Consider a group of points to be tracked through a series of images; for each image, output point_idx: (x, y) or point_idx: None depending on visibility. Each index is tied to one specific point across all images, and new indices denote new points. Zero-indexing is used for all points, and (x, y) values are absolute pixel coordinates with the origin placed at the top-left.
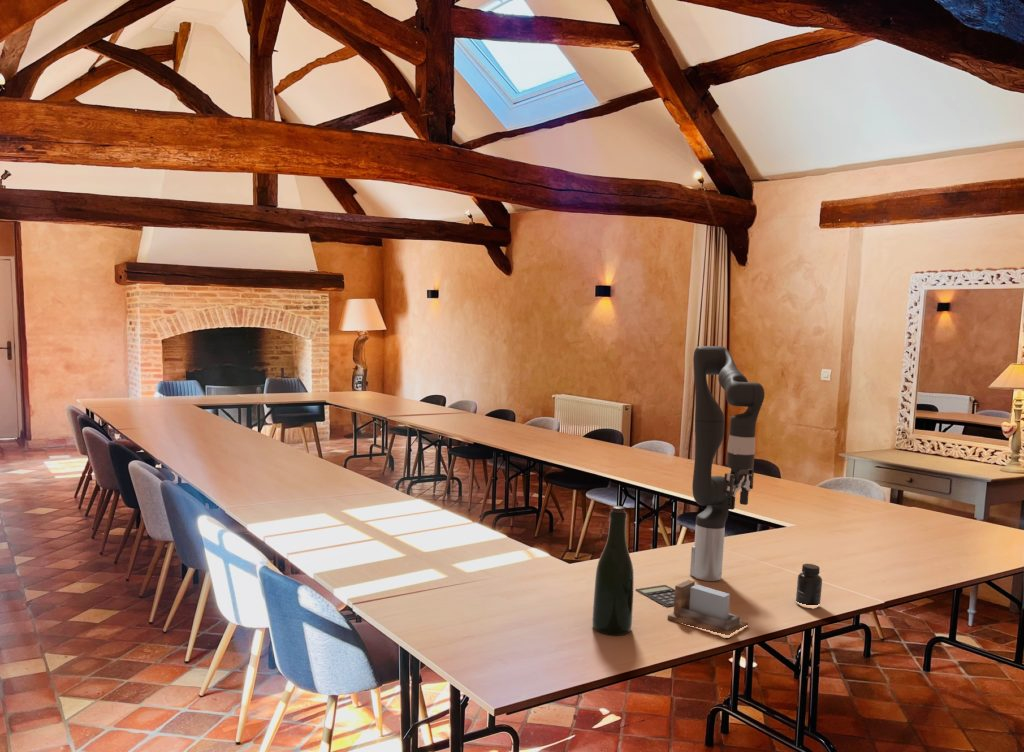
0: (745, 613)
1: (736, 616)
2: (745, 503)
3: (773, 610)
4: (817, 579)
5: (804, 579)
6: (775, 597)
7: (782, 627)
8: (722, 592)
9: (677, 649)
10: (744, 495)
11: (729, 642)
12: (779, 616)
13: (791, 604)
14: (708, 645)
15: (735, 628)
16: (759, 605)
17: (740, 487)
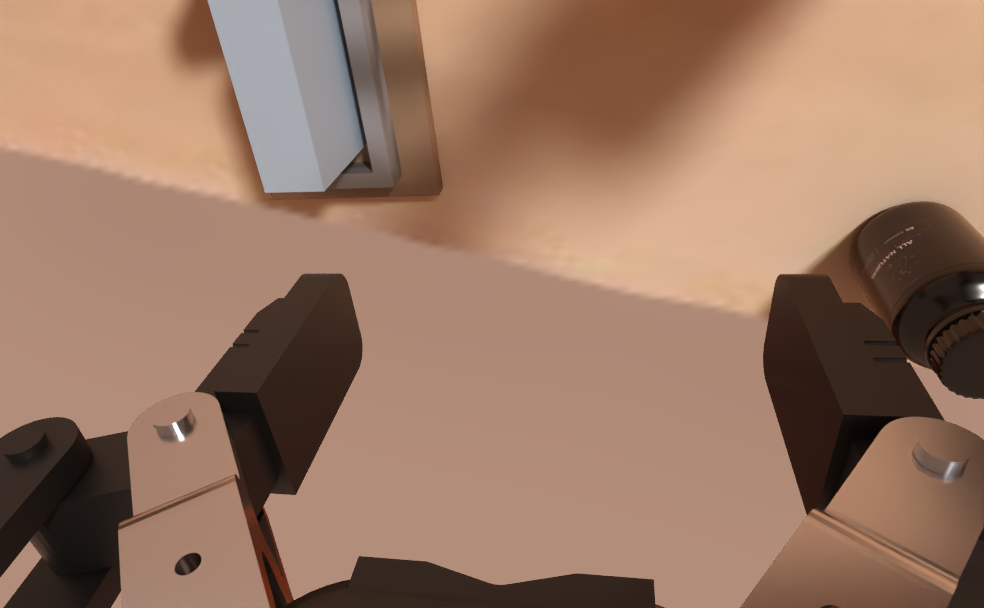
0: (577, 107)
1: (380, 178)
2: (771, 362)
3: (715, 173)
4: (924, 366)
5: (899, 316)
6: (927, 99)
7: (552, 271)
8: (307, 156)
9: (53, 119)
10: (805, 435)
11: (266, 207)
12: (660, 220)
13: (864, 195)
14: (179, 172)
15: (345, 189)
16: (735, 100)
17: (842, 496)
